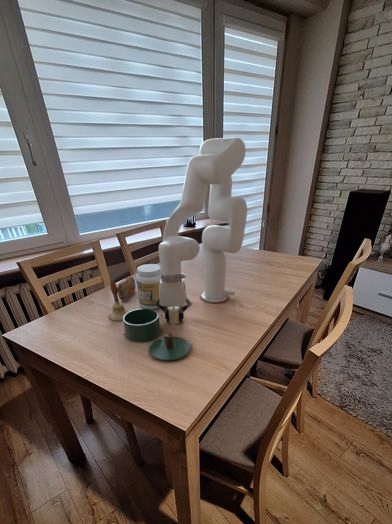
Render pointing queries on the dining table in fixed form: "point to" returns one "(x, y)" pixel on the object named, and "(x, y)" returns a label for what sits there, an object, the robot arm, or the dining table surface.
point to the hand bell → (117, 304)
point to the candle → (174, 315)
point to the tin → (126, 288)
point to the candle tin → (141, 325)
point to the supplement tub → (148, 285)
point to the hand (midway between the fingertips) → (174, 320)
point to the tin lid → (169, 348)
